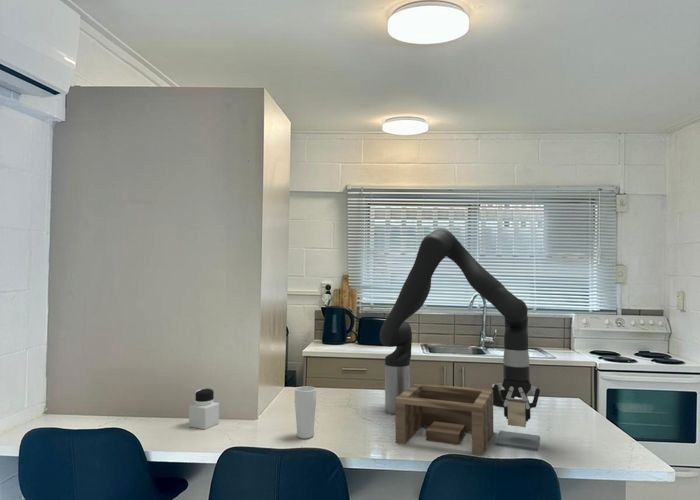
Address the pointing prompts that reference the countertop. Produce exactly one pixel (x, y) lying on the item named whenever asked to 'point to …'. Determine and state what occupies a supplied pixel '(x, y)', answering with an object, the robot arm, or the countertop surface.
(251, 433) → the countertop surface
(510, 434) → the grey mat
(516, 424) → the maple block
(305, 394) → the drinking glass
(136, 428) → the countertop surface
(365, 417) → the countertop surface
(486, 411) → the frame
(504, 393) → the sushi
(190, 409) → the medicine bottle
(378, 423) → the countertop surface
